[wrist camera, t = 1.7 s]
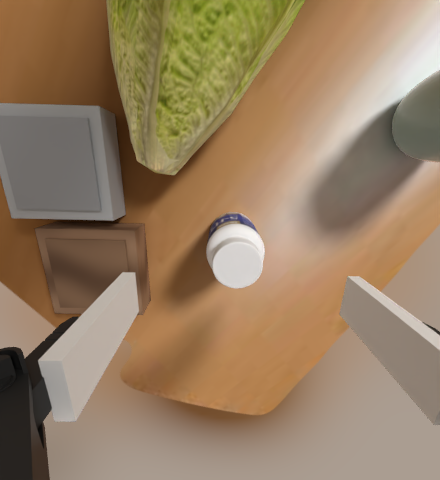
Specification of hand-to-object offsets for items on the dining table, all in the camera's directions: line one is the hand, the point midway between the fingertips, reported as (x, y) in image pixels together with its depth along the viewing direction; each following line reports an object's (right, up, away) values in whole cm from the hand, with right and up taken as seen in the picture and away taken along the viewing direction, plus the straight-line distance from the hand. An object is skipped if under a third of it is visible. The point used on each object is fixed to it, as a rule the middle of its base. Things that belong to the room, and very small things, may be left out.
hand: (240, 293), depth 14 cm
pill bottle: (0, +4, +12) cm, 13 cm away
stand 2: (-15, +1, +13) cm, 20 cm away
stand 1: (-17, +11, +9) cm, 22 cm away
